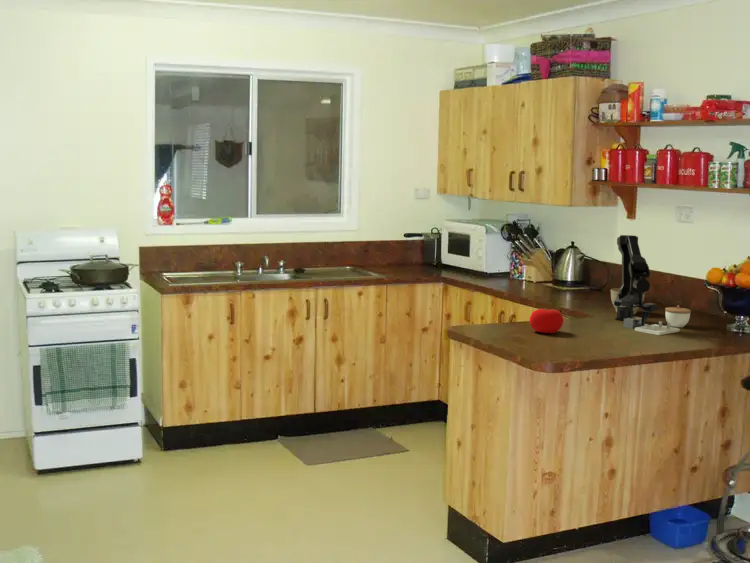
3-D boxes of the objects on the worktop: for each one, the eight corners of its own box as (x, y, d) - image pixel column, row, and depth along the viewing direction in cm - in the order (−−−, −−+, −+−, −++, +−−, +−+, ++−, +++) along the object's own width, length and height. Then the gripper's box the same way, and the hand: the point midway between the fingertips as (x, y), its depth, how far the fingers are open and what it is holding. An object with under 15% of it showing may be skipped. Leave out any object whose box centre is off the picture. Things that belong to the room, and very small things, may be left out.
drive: (623, 327, 403) (624, 317, 402) (635, 325, 407) (635, 316, 407) (632, 329, 399) (633, 319, 398) (644, 327, 403) (645, 318, 403)
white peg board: (634, 330, 395) (635, 323, 394) (655, 326, 405) (655, 319, 405) (659, 335, 386) (659, 327, 385) (679, 331, 396) (680, 324, 396)
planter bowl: (636, 317, 429) (637, 294, 428) (603, 312, 439) (605, 290, 438) (648, 313, 442) (650, 291, 441) (616, 309, 452) (618, 287, 450)
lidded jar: (673, 328, 403) (674, 307, 402) (659, 324, 413) (661, 303, 412) (694, 328, 406) (695, 307, 404) (680, 323, 416) (681, 303, 415)
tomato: (536, 335, 375) (538, 310, 374) (523, 329, 388) (525, 305, 386) (568, 335, 379) (570, 310, 378) (554, 329, 392) (555, 305, 390)
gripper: (607, 287, 403) (605, 322, 405) (644, 293, 389) (642, 329, 391) (622, 285, 410) (620, 320, 412) (659, 291, 396) (656, 326, 398)
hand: (634, 324), depth 403 cm, fingers open, 8 cm apart
